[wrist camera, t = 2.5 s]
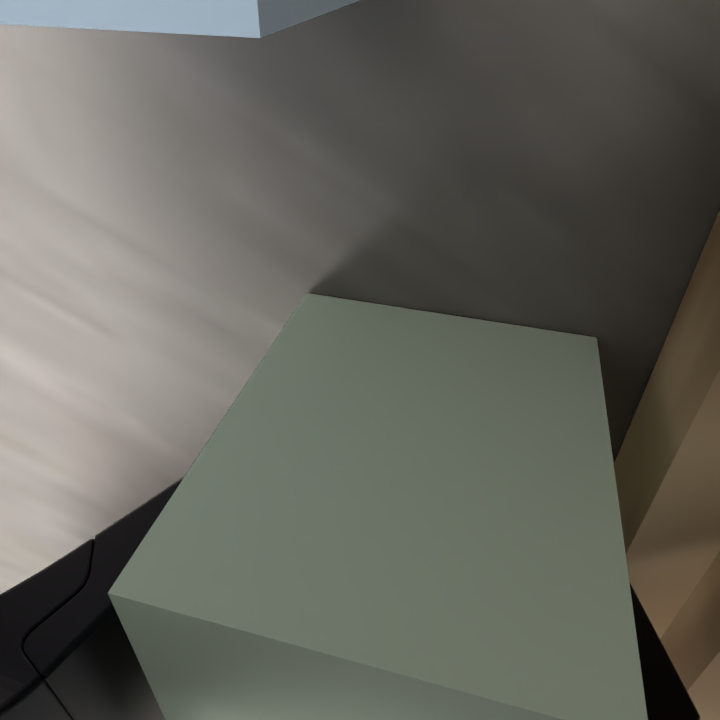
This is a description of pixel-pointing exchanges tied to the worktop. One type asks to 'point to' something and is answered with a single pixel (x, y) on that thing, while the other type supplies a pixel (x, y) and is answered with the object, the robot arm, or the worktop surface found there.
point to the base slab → (680, 488)
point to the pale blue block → (169, 15)
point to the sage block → (395, 533)
